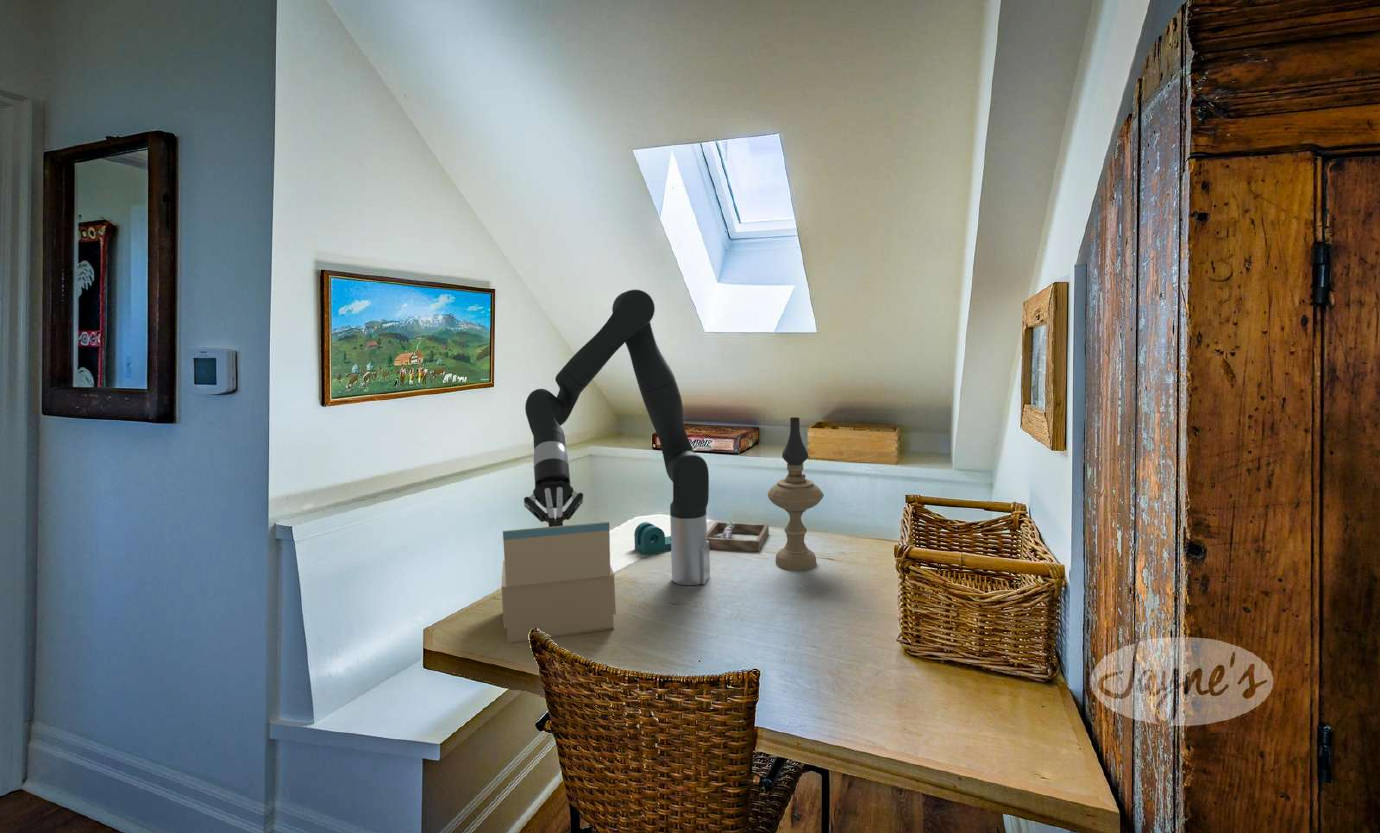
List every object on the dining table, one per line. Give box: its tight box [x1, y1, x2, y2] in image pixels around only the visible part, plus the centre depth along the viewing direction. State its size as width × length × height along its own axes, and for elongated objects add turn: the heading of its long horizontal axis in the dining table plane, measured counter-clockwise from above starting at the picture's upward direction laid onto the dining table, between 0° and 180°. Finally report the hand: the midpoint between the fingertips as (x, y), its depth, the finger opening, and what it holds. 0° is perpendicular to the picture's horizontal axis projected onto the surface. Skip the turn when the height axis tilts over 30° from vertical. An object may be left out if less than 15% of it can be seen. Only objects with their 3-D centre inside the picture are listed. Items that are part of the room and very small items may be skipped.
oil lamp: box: [766, 416, 825, 571], centre depth 180 cm, size 15×15×40 cm
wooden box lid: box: [502, 521, 611, 587], centre depth 137 cm, size 12×21×1 cm
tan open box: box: [501, 560, 617, 644], centre depth 149 cm, size 19×23×12 cm
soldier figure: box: [713, 521, 734, 539], centre depth 206 cm, size 8×5×12 cm
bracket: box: [633, 521, 671, 556], centre depth 199 cm, size 18×7×8 cm, turn 118°
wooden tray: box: [707, 521, 770, 553], centre depth 204 cm, size 17×18×3 cm
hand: (556, 536), depth 137 cm, fingers closed
